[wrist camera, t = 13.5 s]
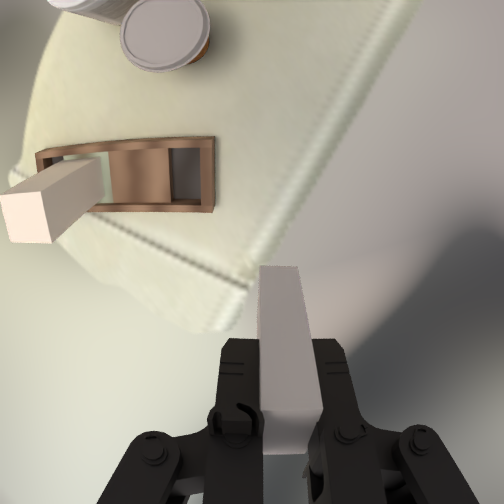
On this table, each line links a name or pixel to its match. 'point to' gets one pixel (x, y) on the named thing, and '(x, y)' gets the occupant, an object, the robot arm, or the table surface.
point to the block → (52, 200)
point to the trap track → (148, 173)
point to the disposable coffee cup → (165, 34)
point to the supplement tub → (97, 9)
